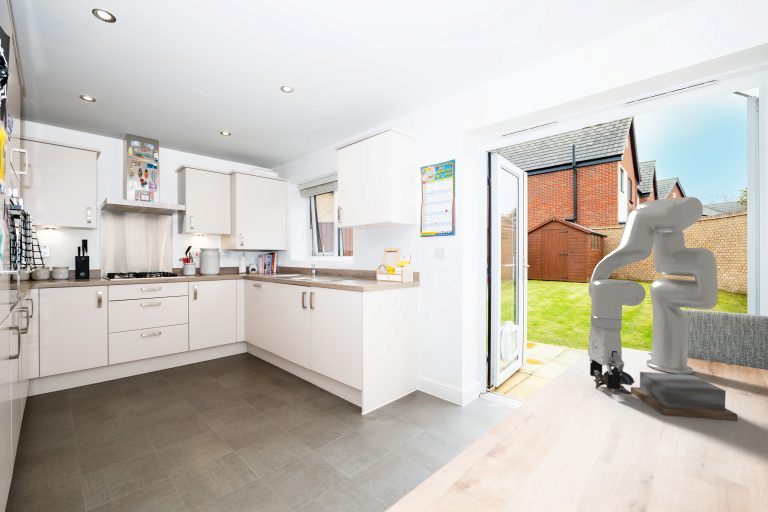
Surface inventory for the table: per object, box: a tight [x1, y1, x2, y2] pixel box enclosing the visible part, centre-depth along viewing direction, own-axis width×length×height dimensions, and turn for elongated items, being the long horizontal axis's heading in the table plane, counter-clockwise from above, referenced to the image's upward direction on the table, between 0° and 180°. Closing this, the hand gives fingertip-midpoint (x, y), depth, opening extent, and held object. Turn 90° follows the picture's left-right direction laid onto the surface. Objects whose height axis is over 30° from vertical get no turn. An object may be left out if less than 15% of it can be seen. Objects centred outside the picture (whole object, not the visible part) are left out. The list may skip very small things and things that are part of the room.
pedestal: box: [630, 371, 739, 421], centre depth 89 cm, size 14×16×6 cm
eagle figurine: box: [593, 370, 636, 395], centre depth 98 cm, size 8×7×9 cm
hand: (604, 382), depth 98 cm, fingers open, 9 cm apart
